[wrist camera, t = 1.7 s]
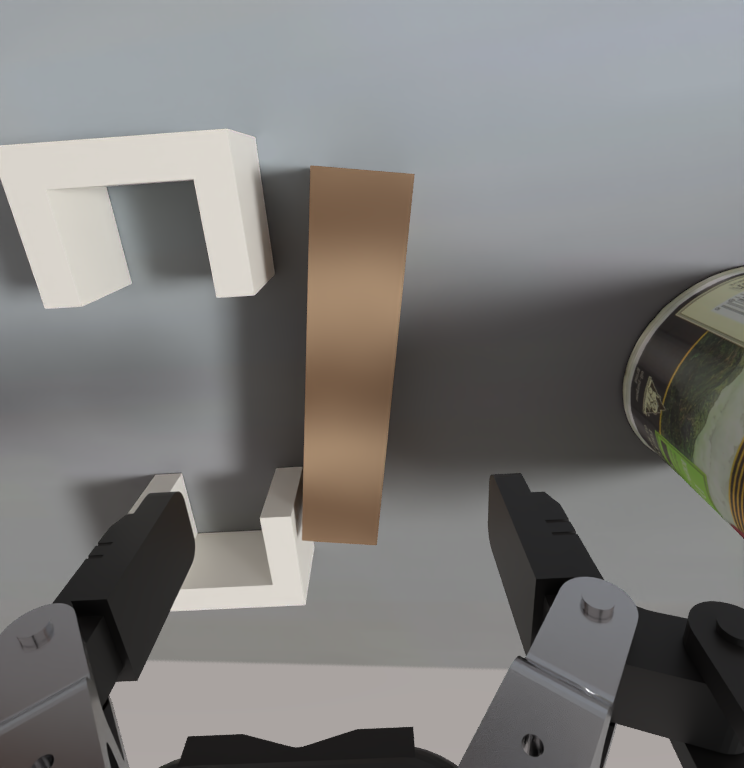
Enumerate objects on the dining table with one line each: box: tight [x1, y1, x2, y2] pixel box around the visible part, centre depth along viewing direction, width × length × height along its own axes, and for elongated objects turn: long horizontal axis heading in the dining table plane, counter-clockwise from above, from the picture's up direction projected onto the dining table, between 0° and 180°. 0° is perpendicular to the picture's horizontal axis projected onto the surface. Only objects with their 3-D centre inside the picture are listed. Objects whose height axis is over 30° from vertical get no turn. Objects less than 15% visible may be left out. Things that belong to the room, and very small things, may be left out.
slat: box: [302, 166, 414, 545], centre depth 21 cm, size 16×4×4 cm, turn 176°
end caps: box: [0, 129, 314, 611], centre depth 22 cm, size 21×8×4 cm, turn 4°
